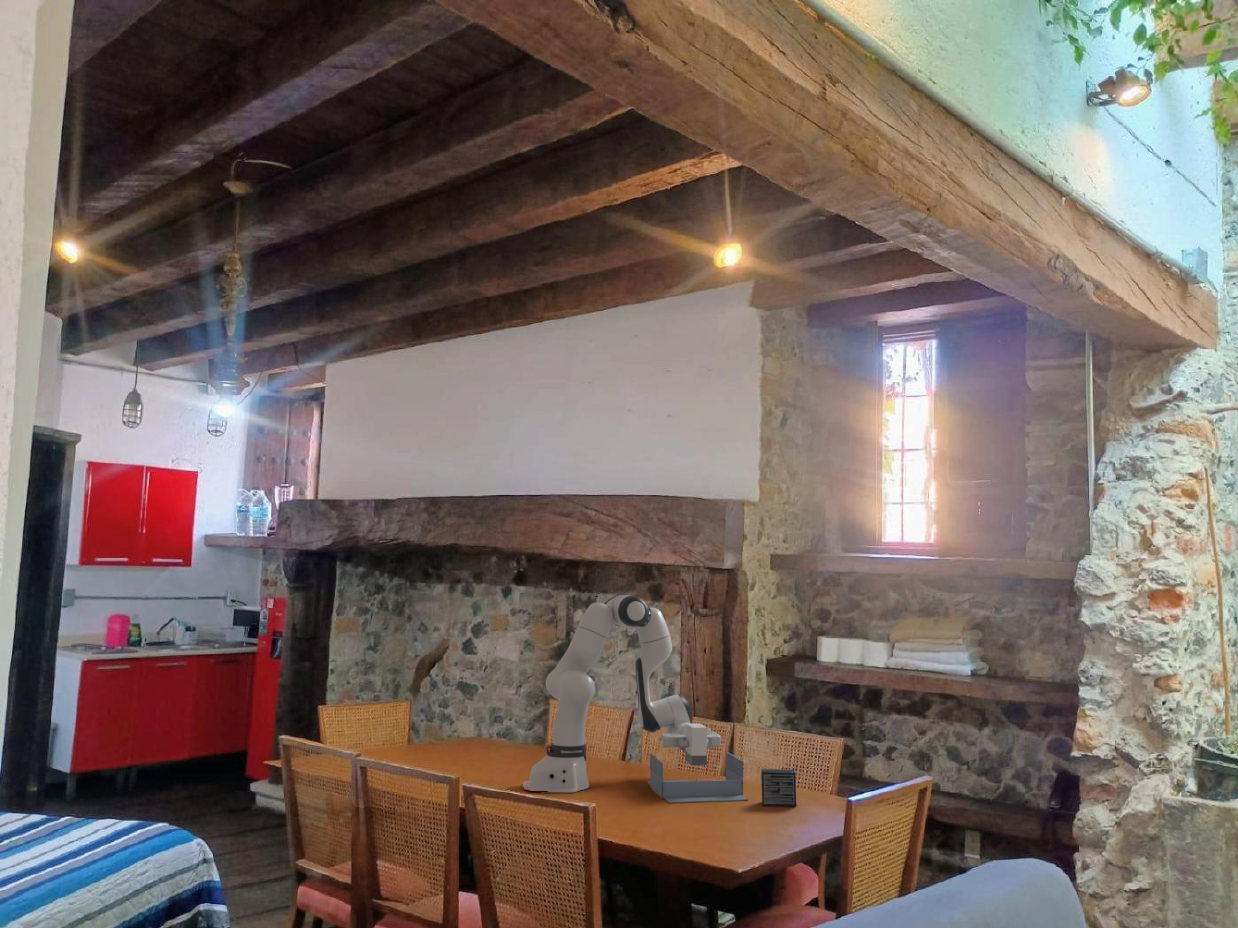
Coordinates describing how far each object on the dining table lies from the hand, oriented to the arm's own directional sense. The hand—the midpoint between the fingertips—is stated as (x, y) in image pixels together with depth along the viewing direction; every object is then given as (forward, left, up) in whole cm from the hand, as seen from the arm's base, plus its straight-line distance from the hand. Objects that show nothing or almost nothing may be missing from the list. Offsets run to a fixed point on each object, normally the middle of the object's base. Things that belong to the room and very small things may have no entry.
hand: (696, 744), depth 320 cm
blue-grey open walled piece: (0, +2, -16) cm, 16 cm away
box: (0, +1, -6) cm, 6 cm away
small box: (+21, -20, -16) cm, 33 cm away
